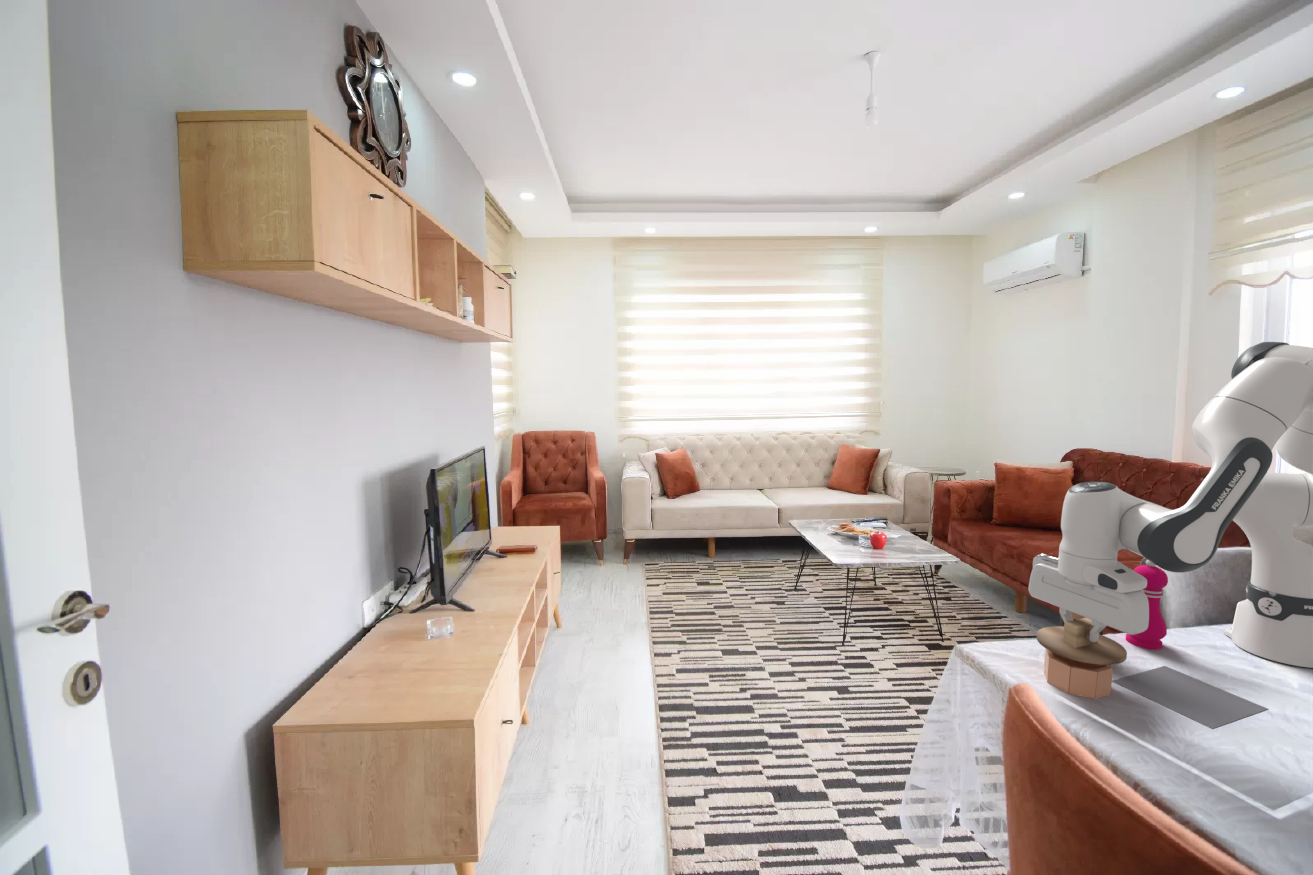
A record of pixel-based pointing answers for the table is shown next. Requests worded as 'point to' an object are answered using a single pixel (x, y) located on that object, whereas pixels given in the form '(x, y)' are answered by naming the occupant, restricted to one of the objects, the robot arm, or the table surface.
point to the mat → (1190, 696)
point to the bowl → (1077, 676)
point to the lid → (1081, 643)
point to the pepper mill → (1151, 608)
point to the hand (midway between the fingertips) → (1080, 636)
